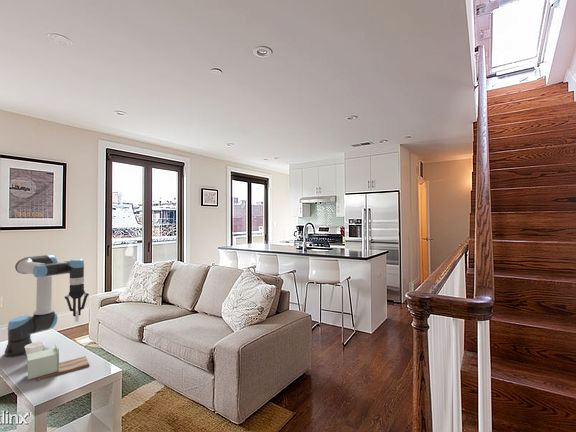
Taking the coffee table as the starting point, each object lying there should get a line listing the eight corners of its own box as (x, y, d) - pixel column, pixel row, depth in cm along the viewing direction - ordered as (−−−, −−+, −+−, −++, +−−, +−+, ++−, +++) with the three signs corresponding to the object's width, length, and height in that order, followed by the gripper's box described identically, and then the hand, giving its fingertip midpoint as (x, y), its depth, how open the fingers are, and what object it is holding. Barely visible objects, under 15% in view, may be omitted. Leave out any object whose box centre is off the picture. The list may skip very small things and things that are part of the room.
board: (35, 371, 184) (35, 363, 184) (85, 358, 201) (85, 351, 201) (37, 380, 173) (37, 372, 173) (89, 366, 190) (89, 359, 190)
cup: (33, 366, 190) (33, 348, 190) (20, 365, 192) (20, 347, 192) (48, 359, 200) (48, 342, 200) (35, 357, 202) (35, 341, 202)
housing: (27, 371, 180) (27, 349, 180) (56, 364, 190) (56, 343, 190) (27, 379, 172) (27, 356, 172) (58, 371, 181) (58, 348, 181)
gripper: (64, 286, 188) (64, 325, 188) (89, 283, 197) (90, 320, 197) (63, 284, 194) (63, 321, 193) (87, 281, 202) (87, 317, 202)
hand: (76, 321), depth 195 cm, fingers closed
